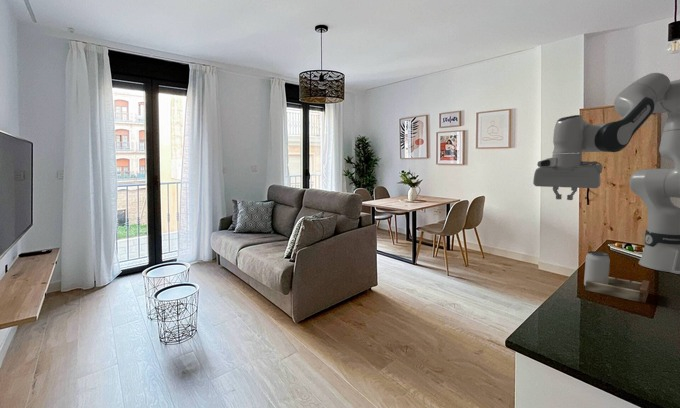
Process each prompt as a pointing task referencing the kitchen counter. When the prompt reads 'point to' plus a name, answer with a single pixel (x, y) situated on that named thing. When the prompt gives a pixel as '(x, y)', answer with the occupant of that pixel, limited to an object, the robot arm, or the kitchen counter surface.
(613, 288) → the wooden rack
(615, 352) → the kitchen counter surface
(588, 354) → the kitchen counter surface
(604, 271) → the can
